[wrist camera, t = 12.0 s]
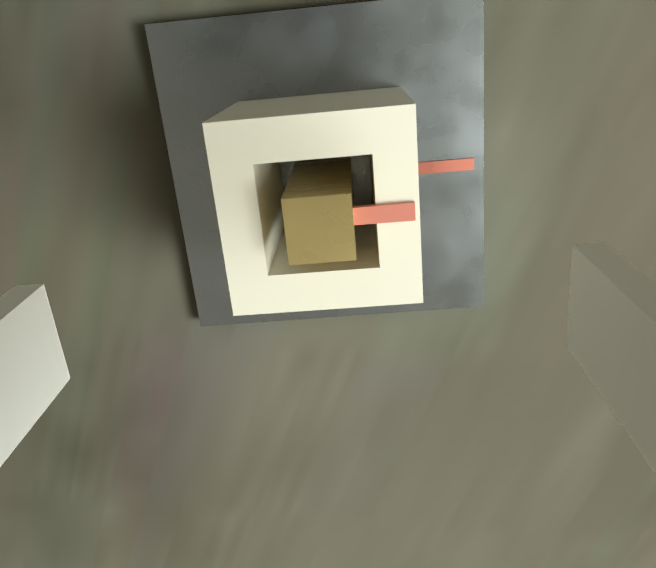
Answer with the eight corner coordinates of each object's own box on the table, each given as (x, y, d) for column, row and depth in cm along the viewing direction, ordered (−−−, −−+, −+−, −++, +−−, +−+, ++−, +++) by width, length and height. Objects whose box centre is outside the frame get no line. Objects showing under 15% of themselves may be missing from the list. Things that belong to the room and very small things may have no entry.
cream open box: (259, 253, 34) (232, 319, 26) (238, 101, 31) (200, 124, 23) (407, 242, 33) (424, 305, 26) (400, 86, 30) (416, 104, 23)
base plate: (204, 318, 37) (152, 423, 27) (150, 24, 31) (58, 20, 21) (479, 298, 36) (529, 399, 26) (479, -9, 30) (544, -30, 20)
